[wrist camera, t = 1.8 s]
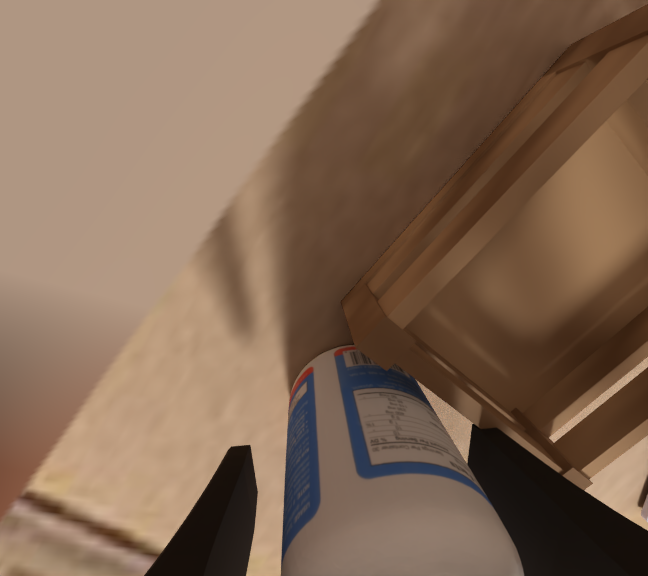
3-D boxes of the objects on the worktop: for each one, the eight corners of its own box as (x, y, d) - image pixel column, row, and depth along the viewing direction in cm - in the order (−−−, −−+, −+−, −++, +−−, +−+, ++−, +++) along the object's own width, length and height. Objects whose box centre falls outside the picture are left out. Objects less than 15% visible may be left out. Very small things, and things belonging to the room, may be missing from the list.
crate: (571, 44, 10) (714, -31, 6) (716, 246, 12) (876, 270, 9) (340, 301, 12) (355, 347, 9) (503, 429, 14) (564, 504, 11)
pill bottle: (331, 464, 15) (380, 952, 5) (264, 382, 13) (165, 875, 4) (436, 408, 14) (699, 852, 5) (379, 315, 12) (604, 706, 3)
